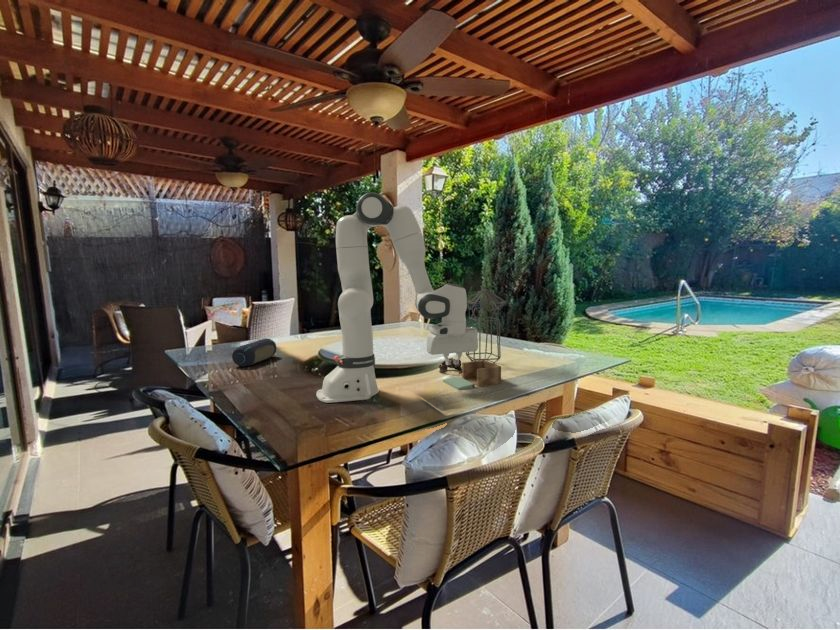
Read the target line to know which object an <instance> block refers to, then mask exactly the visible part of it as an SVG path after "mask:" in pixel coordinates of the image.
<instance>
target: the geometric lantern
mask: <svg viewBox="0 0 840 630" xmlns="http://www.w3.org/2000/svg"><path fill="white" fill-rule="evenodd" d="M471 298H472V299H471ZM480 298H481V299H480ZM487 298H488V299H487ZM470 299H471V300H470ZM490 302H491V303H490ZM477 304H478V305H480V306H477ZM506 304H508V302H507V301H506V300H505V299H503V298H501V297H500V296H498V294H497V295H496V294H495V293H494V292H492V291H491V290H489V289H486V288H483V289H481V290H479V291H478V292H476V293H474V294H472V295H470V296H468V297H467V309H468V322H467V323H468V325H467V327H473V320H474V321H475V328H476V329H477V330H479V333H478V334H479V335H478V336H479V339H478V350H479V351H478V352H476V351H474V352H465V356H466V357H467V358H468V359H469V360H470V362H471V361H478V360H485V361H488V362H491V363H493V364H496V363H497V362H498V361H500V359H501V357H502V356H501V319H499V317H498V314H500V313H499V312H500V311H499V310H502V308H503V307H504V306H505V305H506ZM489 305H490V306H492V307H493V309H492V308H491V309H490V308H489ZM486 306H487V307H486ZM477 308H478V309H481V310H482V311H483V314H481V316H476V314H475V311H476V309H477ZM470 311H472V314H471V315H470ZM492 311H493V313H492V314H491V316H488V315H487V313H486V312H492ZM496 312H497V313H496ZM484 315H485V316H484ZM494 315H495V317H494ZM482 318H483V319H482ZM484 318H487V319H484ZM481 319H482V320H481ZM495 321H496V344H497V345H496V346H497V355H496V354H494V353H493V322H495ZM478 322H479V323H478ZM481 322H486V335H485V336H486V337H485V349H484V350H485V351H484V352H481V346H482V345H481V338H482V337H481V328H482V327H481ZM489 322H490V352H487V351H488V350H487V349H488V348H487V347H488V336H489V334H488V333H489V332H488V331H489ZM478 324H479V325H478ZM477 327H478V328H479V329H478V328H477ZM482 354H483V355H484V358H481V357H482V356H481V355H482ZM487 354H488V355H489V356H487ZM470 355H473V357H472V356H470ZM476 355H479V356H478V357H479V358H475V356H476ZM486 356H487V357H486ZM491 356H495V357H496V358H493V357H492V358H490V357H491ZM494 360H495V361H494Z"/></svg>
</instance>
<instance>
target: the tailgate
mask: <svg viewBox="0 0 840 630" xmlns="http://www.w3.org/2000/svg"><path fill="white" fill-rule="evenodd" d="M442 382H443V383H445V384H447V385H448V386H449V387H452V388H454V389H456V390H457V391H460V390H461V391H462V390H467V389H473V388H475V387H476V385H475V384H473V383H471V382H469V381H467V380H465V379H463V378H462V376H461V377H460V376H456V377H450V378H449V377H448V378H445V379H442Z"/></svg>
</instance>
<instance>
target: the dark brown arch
mask: <svg viewBox="0 0 840 630" xmlns="http://www.w3.org/2000/svg"><path fill="white" fill-rule="evenodd" d="M448 358H449V357H448ZM453 359H454V357H450V358H449V360H451V365H446V360H444V361H443V362H441V363H440V364H439V365H438V369H439V373H444V372H446V373H447V372H448V368H449V369H454V370H456V371H459V372H458V375H460V374H461V375H462V361H461V359H460V360H459V364H453V362H454V361H453Z"/></svg>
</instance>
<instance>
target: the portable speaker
mask: <svg viewBox="0 0 840 630" xmlns="http://www.w3.org/2000/svg"><path fill="white" fill-rule="evenodd" d="M276 352H277V344H276V341H274V340H273V339H271V338H262V339H257V340H255V341H253V342H249V343H246V344H243V345H240V346H238V347H237V348H235V349H234V350H233V352H232V354H231V358H232V361H233V362H234V364H235V365H236V366H238V367H243V368H244V367H245V366H246V367H249V366H252V365H255V364H257V363H260V362H262V361H265V360H268V359H270V358H272V357H273V356H275V354H276Z"/></svg>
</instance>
